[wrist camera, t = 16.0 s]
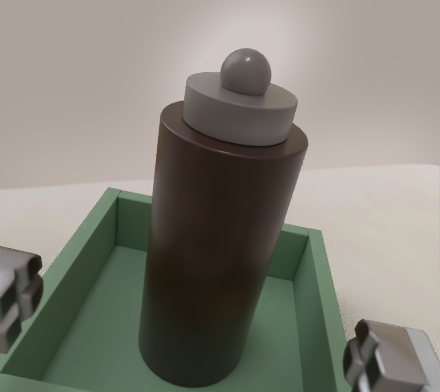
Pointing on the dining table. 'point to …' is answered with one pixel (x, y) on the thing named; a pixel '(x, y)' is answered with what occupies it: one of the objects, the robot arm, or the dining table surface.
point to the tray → (131, 310)
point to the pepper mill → (216, 217)
